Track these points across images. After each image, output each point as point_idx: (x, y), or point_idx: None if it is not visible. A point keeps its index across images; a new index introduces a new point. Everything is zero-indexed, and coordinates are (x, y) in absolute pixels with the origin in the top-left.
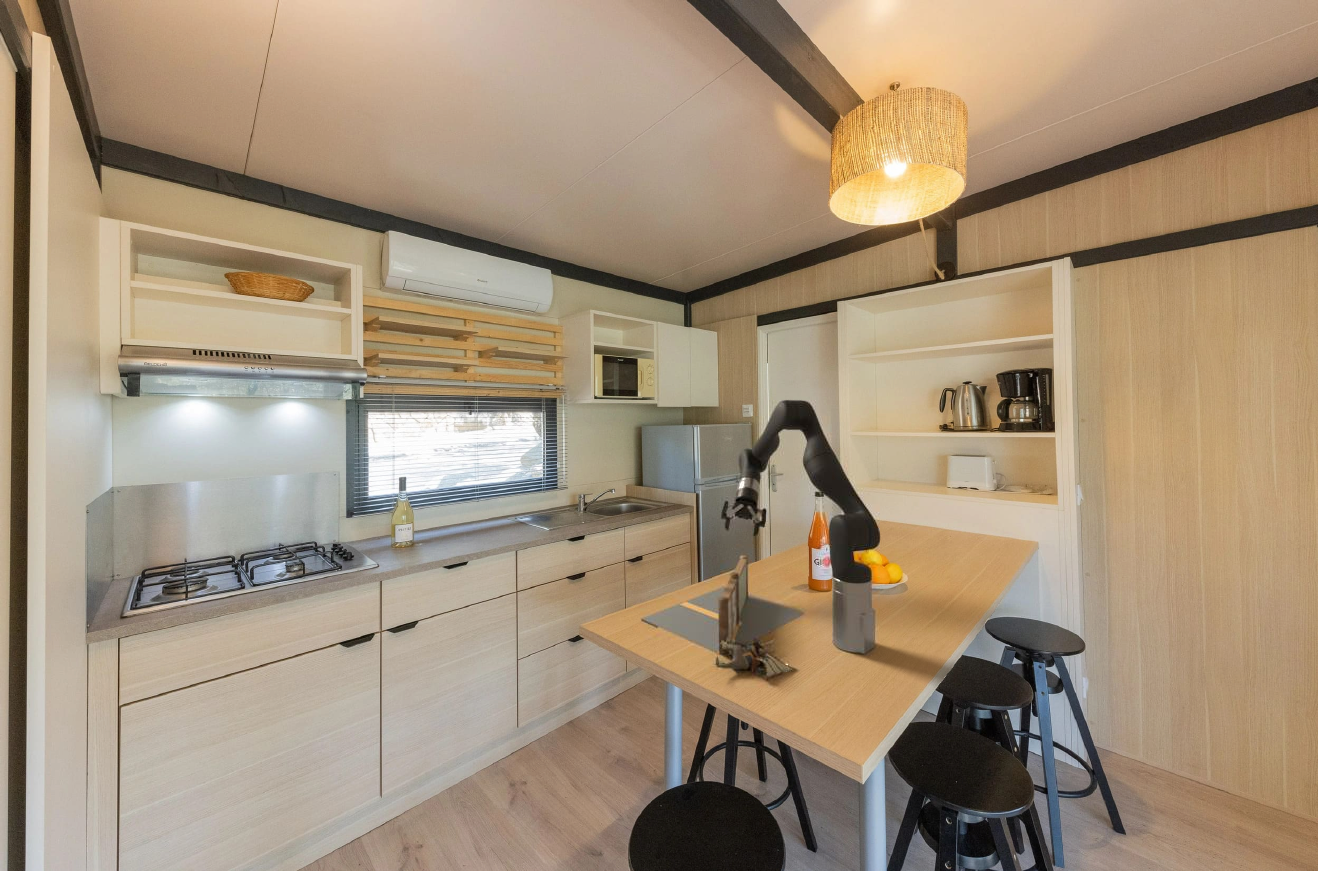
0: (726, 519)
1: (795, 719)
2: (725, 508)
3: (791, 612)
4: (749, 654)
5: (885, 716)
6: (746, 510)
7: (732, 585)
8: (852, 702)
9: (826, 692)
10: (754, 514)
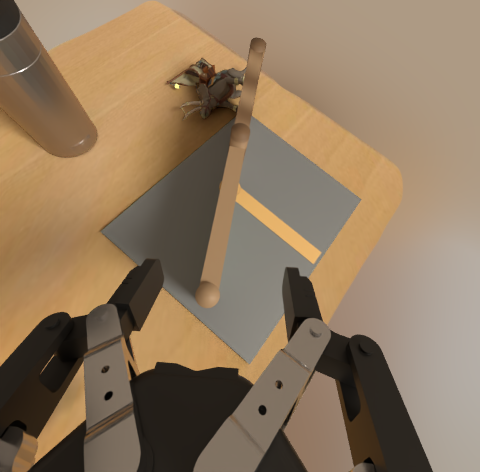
0: (316, 313)
1: (186, 33)
2: (381, 411)
3: (128, 231)
4: (218, 72)
5: (106, 29)
6: (162, 431)
7: (243, 98)
8: (127, 45)
9: (147, 57)
10: (99, 361)
